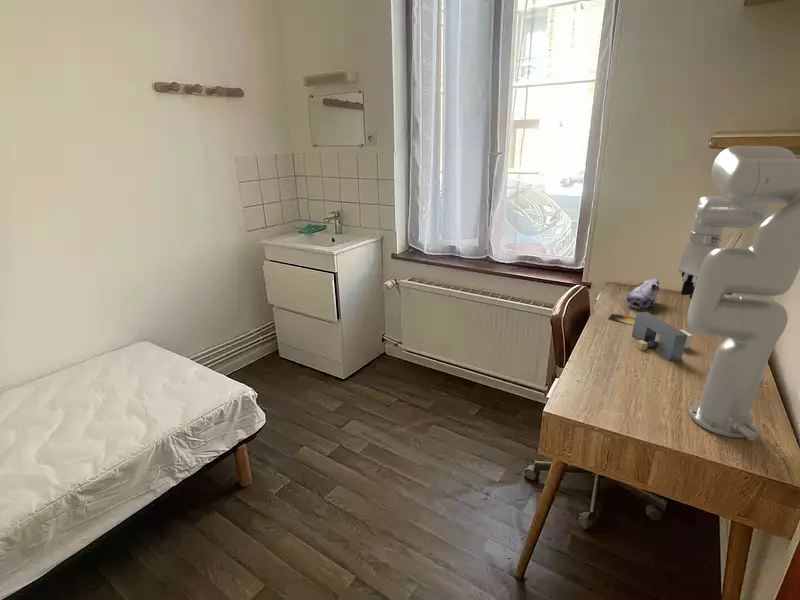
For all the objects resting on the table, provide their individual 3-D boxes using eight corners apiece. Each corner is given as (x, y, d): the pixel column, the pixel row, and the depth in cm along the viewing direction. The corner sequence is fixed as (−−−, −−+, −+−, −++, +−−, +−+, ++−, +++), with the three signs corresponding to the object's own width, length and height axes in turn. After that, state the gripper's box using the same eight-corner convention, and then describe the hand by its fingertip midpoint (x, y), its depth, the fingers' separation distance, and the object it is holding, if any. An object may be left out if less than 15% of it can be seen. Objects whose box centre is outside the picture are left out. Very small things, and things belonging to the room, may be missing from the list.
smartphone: (612, 313, 168) (656, 322, 159) (611, 315, 168) (655, 324, 160) (607, 319, 163) (652, 329, 154) (607, 320, 163) (652, 330, 154)
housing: (681, 359, 134) (687, 334, 131) (669, 360, 133) (675, 335, 130) (642, 334, 150) (647, 312, 147) (631, 335, 150) (636, 312, 147)
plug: (689, 347, 141) (692, 335, 140) (642, 351, 139) (645, 338, 137) (678, 341, 145) (682, 329, 144) (633, 345, 143) (636, 332, 142)
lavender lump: (666, 304, 177) (671, 281, 174) (645, 314, 168) (650, 290, 164) (641, 297, 185) (646, 275, 181) (620, 306, 175) (625, 283, 171)
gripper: (739, 244, 123) (722, 305, 130) (695, 232, 138) (681, 287, 145) (715, 245, 122) (699, 306, 129) (673, 233, 137) (661, 288, 144)
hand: (690, 296), depth 137 cm, fingers open, 2 cm apart
